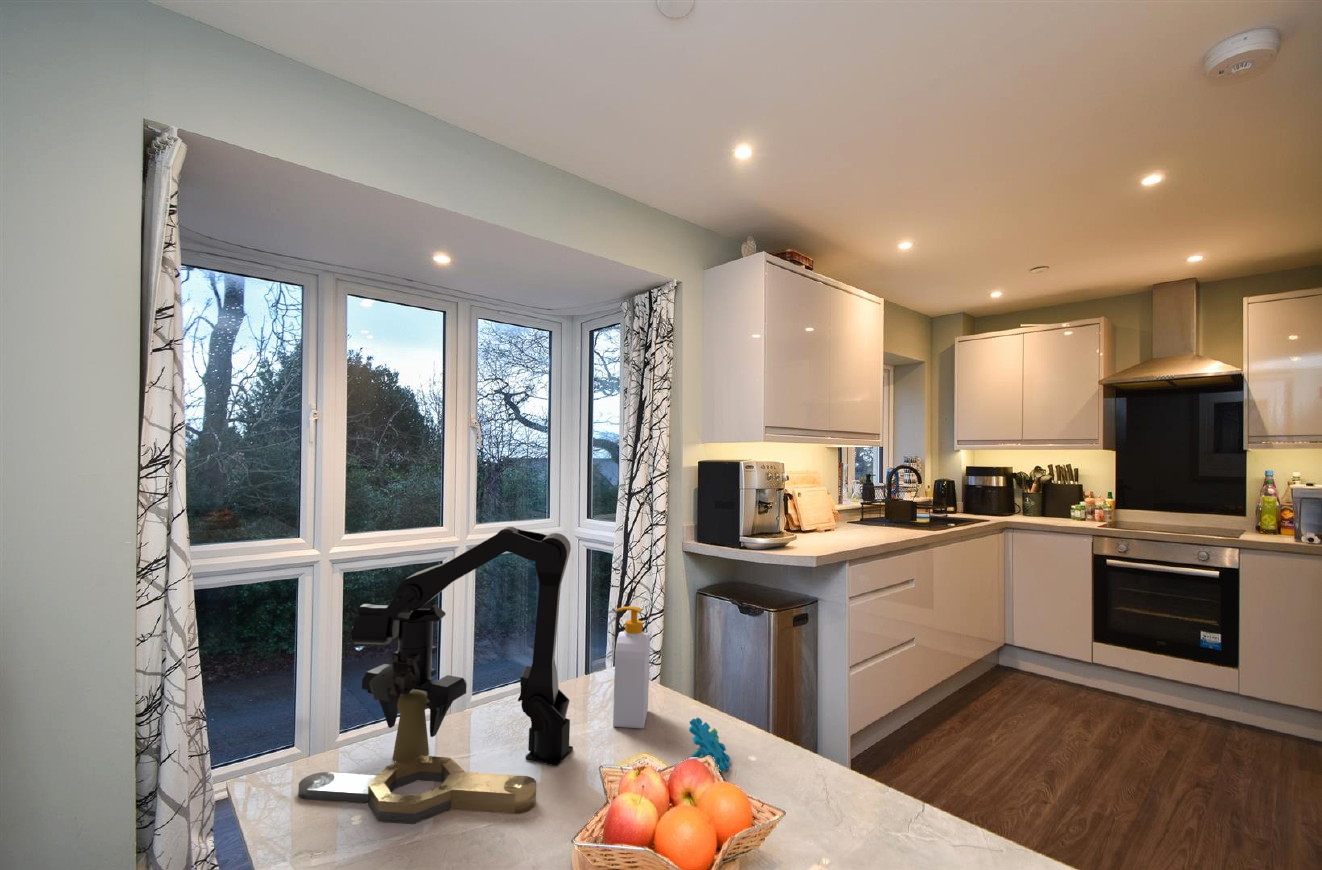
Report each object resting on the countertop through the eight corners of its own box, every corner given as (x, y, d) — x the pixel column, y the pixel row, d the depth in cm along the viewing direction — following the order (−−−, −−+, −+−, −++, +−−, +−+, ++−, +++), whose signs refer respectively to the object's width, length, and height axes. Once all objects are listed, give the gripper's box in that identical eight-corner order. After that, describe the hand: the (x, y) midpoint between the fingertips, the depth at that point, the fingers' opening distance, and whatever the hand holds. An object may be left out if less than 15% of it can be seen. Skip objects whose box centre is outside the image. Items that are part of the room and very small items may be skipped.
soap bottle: (615, 708, 127) (619, 601, 128) (648, 710, 127) (651, 603, 127) (608, 727, 118) (612, 612, 119) (643, 730, 118) (647, 614, 118)
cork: (436, 751, 107) (438, 690, 108) (409, 767, 102) (412, 702, 102) (412, 743, 110) (414, 683, 110) (384, 758, 104) (387, 695, 105)
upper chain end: (545, 781, 99) (546, 763, 99) (523, 832, 86) (523, 811, 86) (397, 772, 100) (398, 754, 100) (353, 820, 87) (354, 799, 87)
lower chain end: (472, 777, 99) (473, 768, 99) (439, 826, 86) (439, 815, 86) (327, 767, 101) (327, 758, 101) (272, 814, 88) (272, 804, 88)
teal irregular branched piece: (726, 776, 99) (688, 724, 102) (701, 797, 100) (664, 745, 103) (738, 753, 109) (703, 707, 113) (714, 773, 110) (680, 727, 113)
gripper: (338, 650, 102) (334, 742, 101) (427, 666, 96) (423, 764, 95) (387, 632, 112) (383, 715, 112) (469, 645, 106) (466, 733, 106)
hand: (412, 731), depth 106 cm, fingers open, 9 cm apart
